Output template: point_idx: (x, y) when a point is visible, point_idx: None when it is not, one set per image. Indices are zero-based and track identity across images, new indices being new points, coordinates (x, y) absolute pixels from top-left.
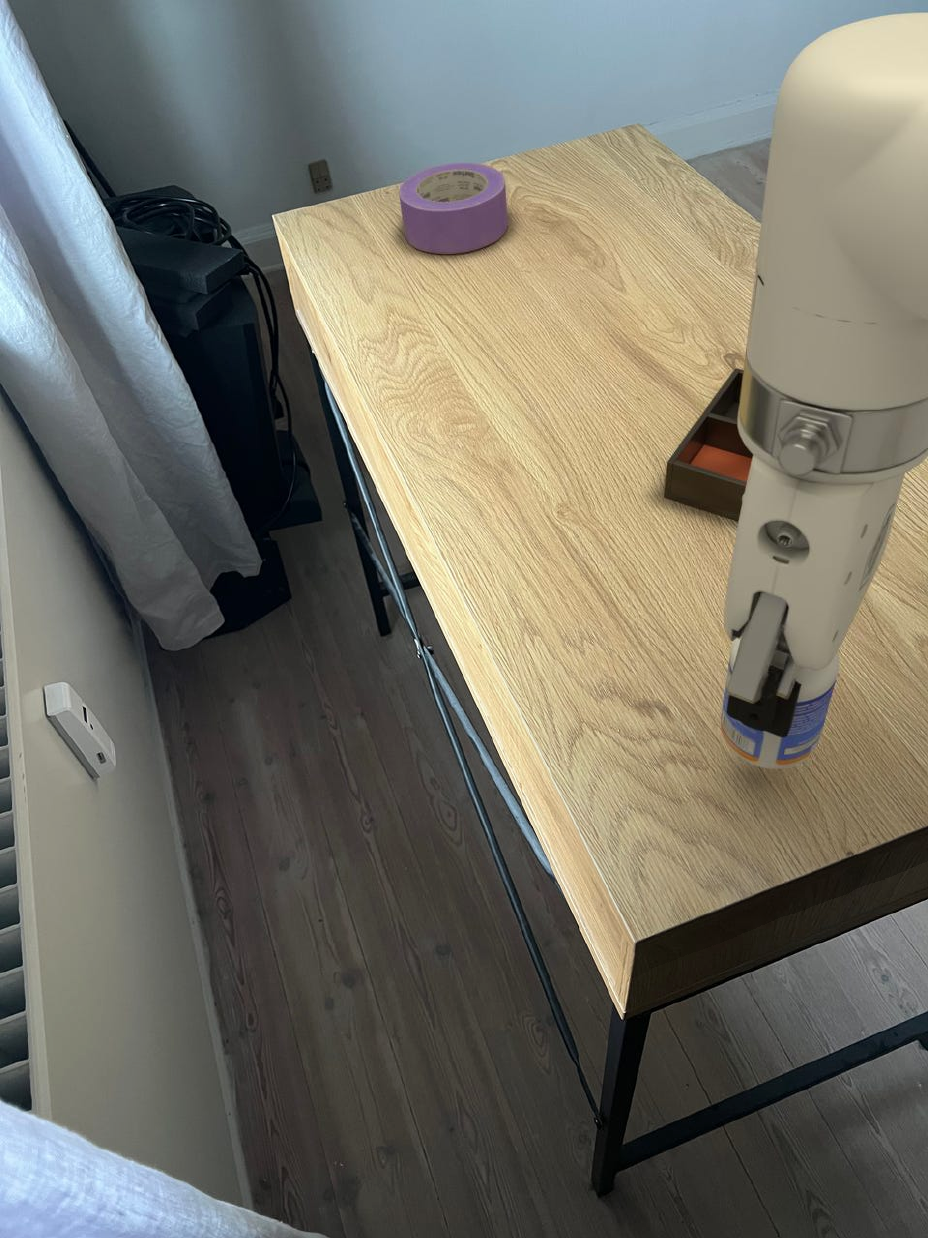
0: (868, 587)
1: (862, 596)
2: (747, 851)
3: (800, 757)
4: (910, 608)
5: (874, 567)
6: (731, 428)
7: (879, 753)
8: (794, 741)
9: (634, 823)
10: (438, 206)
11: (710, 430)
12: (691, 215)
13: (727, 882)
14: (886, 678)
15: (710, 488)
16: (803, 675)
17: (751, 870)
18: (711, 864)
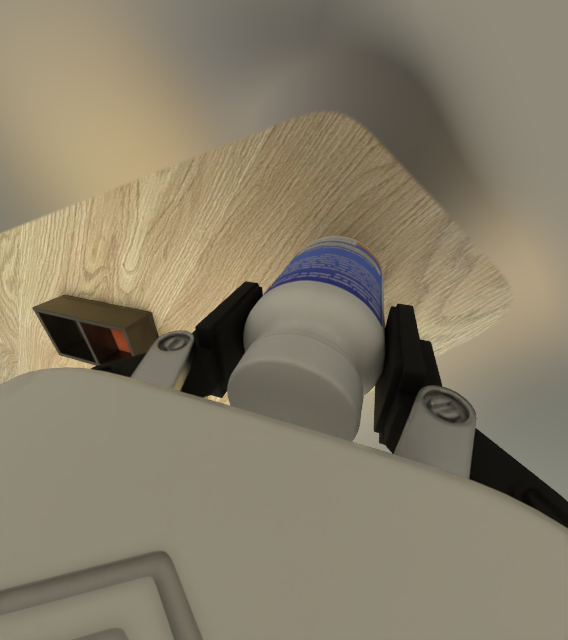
0: (170, 402)
1: (225, 477)
2: (423, 245)
3: (368, 251)
4: (140, 186)
5: (96, 497)
6: (97, 347)
7: (281, 165)
8: (375, 274)
9: (420, 328)
10: None
11: (107, 354)
12: (8, 377)
13: (461, 252)
14: (208, 184)
15: (143, 347)
16: (350, 341)
17: (442, 236)
18: (444, 268)
